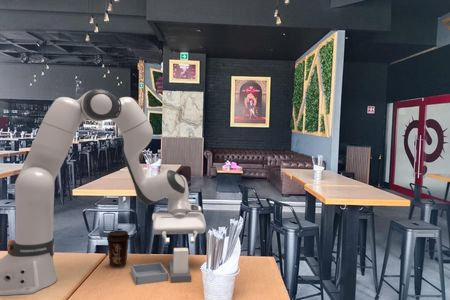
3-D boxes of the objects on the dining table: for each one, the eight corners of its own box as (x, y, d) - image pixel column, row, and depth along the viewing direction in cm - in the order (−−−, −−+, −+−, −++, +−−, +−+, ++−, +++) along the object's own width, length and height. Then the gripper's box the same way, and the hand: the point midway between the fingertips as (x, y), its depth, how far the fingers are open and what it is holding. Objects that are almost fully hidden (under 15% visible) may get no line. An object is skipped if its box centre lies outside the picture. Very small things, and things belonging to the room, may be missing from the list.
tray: (136, 285, 119) (136, 276, 118) (130, 273, 129) (131, 265, 128) (168, 281, 123) (168, 272, 123) (160, 270, 133) (160, 262, 133)
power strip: (191, 282, 123) (191, 273, 123) (170, 283, 121) (171, 274, 121) (186, 266, 138) (186, 258, 138) (168, 266, 137) (168, 258, 137)
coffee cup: (106, 262, 139) (107, 229, 138) (128, 261, 141) (129, 229, 141) (106, 270, 130) (107, 236, 130) (129, 269, 133) (130, 234, 133)
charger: (173, 280, 124) (174, 251, 123) (172, 276, 127) (173, 248, 127) (187, 279, 125) (188, 250, 124) (186, 275, 128) (187, 247, 128)
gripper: (152, 207, 135) (151, 239, 126) (205, 206, 139) (208, 238, 130) (151, 215, 140) (151, 248, 130) (203, 215, 144) (205, 246, 135)
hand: (180, 243), depth 130 cm, fingers open, 8 cm apart
